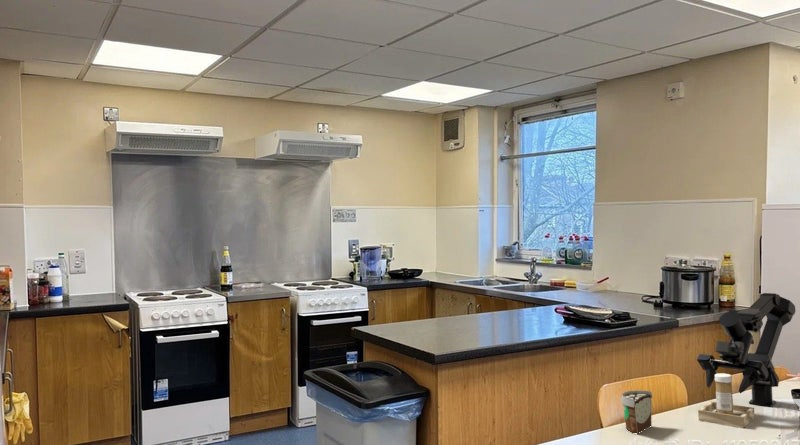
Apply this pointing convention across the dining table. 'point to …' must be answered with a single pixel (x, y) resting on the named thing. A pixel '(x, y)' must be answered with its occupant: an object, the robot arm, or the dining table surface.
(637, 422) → the food container
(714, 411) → the box
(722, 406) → the sprinkles bottle
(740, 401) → the dining table surface
